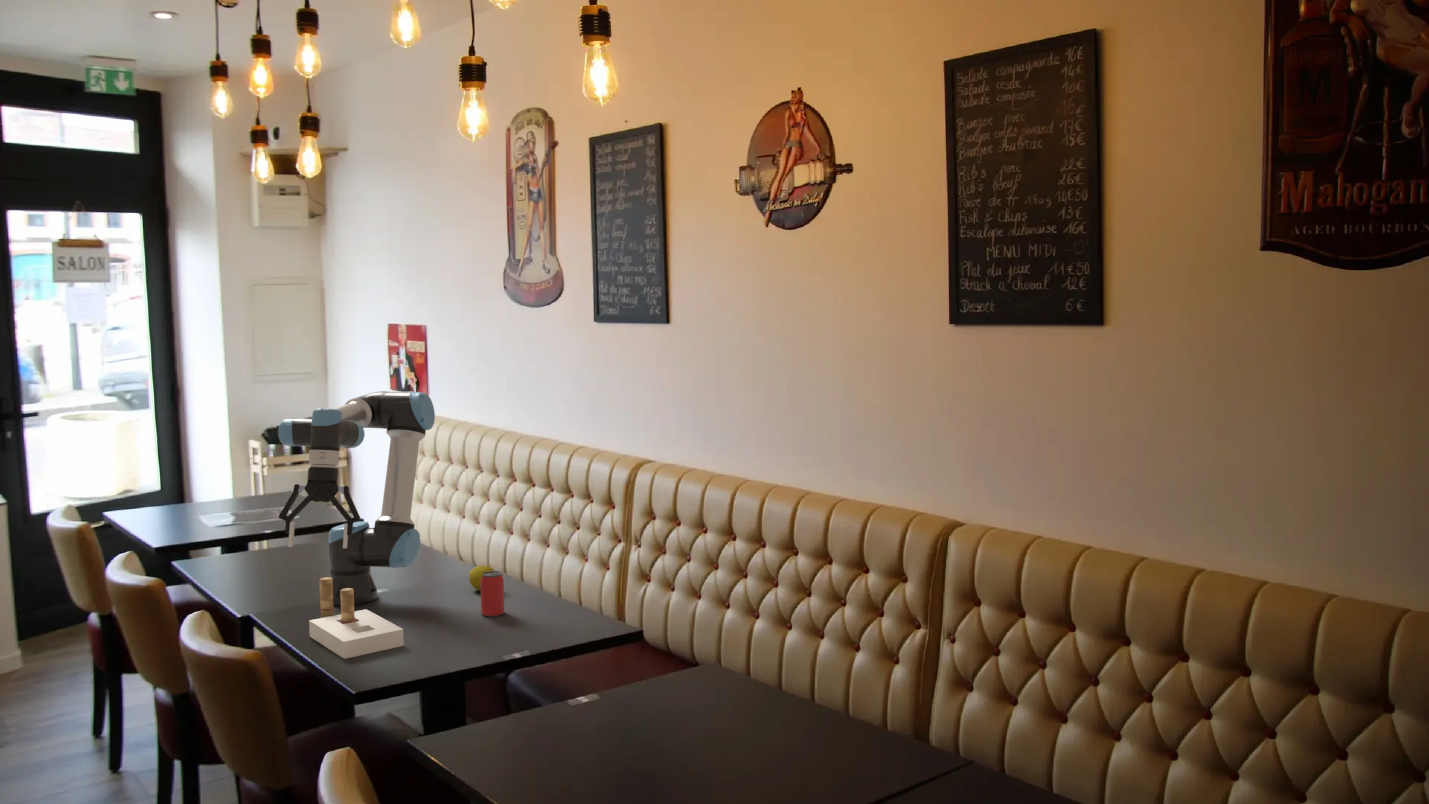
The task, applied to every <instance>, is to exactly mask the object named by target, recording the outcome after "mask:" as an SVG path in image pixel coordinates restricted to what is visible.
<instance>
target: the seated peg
mask: <svg viewBox="0 0 1429 804" xmlns="http://www.w3.org/2000/svg"><path fill="white" fill-rule="evenodd" d="M340 597H341V606H340V614H341V623H342V624H347V623H352V622H355V615H354V612H355V605H354V589H352V588H345V589H341V590H340Z"/></svg>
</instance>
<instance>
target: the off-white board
mask: <svg viewBox="0 0 1429 804" xmlns="http://www.w3.org/2000/svg"><path fill="white" fill-rule="evenodd" d="M354 615H355V622H352V623H347V624H342V623H341V613H340V614H334V616H329V617H324V618H321V617H320V618H316V619H309V620H308V625H309V626H308V627H309V638H311V639H313V640H314V641H316V642H317V643H319V644H321V645H322V646H323V647H325V648H326V649H327V650H329V651H331V652H333V653H335V655H338V656H339V657H340V658H342V659H343V660H346V659H349V658H355V657H359V656H363V655H369V654H372V653H378V652H381V651H386V650H390V649H391V650H392V649H396V648H401V647H403V646H404V645H405V643H404V629H403V628H402V627H400V626H398V625H396V624H395V623H393V622H391V621H389V620H387V619H385V618H383V617H381V616H380V615H377V614H376V613H375V612H372V611H371V610H368V609H366V608H365V609H362V610H361V609H360V610H354Z"/></svg>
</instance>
